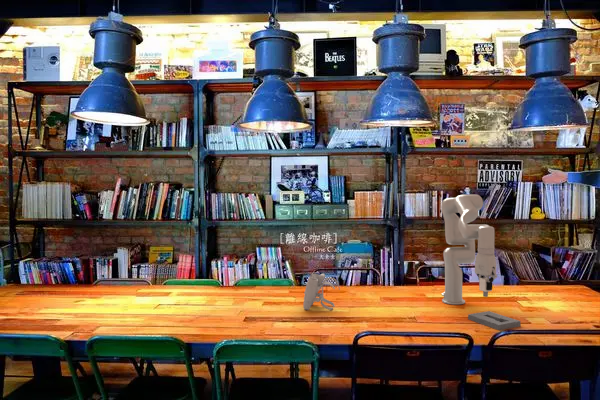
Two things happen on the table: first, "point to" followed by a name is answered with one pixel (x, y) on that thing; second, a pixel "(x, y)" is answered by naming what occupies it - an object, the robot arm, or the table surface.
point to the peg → (483, 286)
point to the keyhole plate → (494, 320)
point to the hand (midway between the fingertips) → (485, 288)
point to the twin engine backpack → (316, 291)
